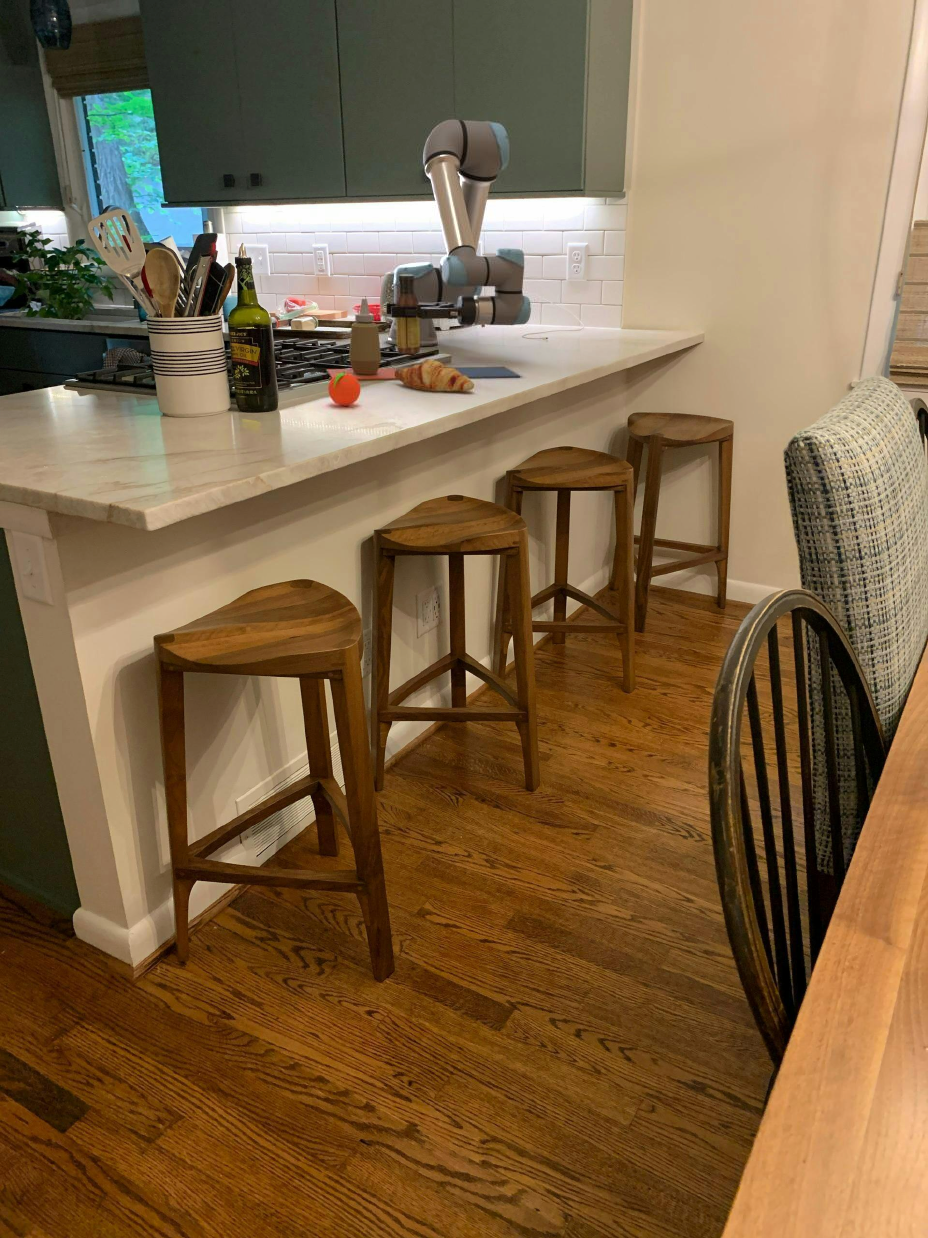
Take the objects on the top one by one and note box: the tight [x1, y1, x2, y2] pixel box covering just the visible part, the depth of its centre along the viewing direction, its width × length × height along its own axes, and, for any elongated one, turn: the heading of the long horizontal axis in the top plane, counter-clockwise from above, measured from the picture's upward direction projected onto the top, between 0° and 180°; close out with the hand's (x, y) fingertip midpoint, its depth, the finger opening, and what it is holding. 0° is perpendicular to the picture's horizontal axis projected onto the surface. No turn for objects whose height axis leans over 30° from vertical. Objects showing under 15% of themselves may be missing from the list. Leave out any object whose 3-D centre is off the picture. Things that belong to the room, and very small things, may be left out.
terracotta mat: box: [325, 367, 399, 381], centre depth 236 cm, size 14×18×1 cm
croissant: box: [395, 358, 475, 392], centre depth 221 cm, size 21×10×8 cm, turn 66°
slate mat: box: [455, 366, 521, 379], centre depth 244 cm, size 14×18×1 cm
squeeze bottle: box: [348, 298, 382, 375], centre depth 233 cm, size 8×8×18 cm
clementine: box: [327, 372, 362, 407], centre depth 200 cm, size 8×7×7 cm
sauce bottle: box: [396, 274, 421, 355], centre depth 247 cm, size 7×6×20 cm
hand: (389, 310), depth 245 cm, fingers closed on sauce bottle, 6 cm apart
